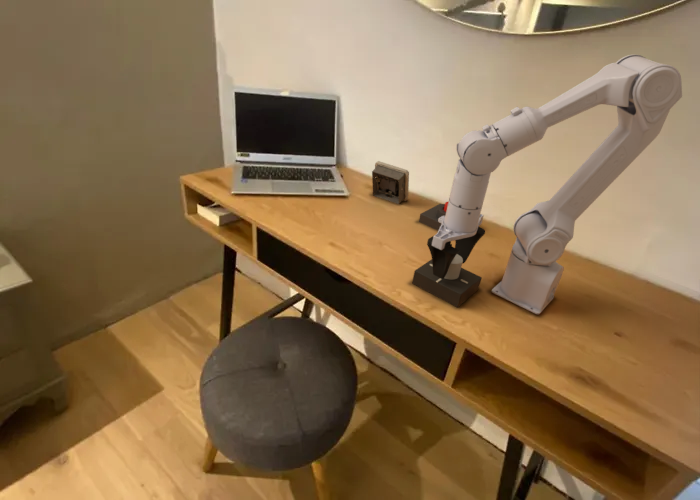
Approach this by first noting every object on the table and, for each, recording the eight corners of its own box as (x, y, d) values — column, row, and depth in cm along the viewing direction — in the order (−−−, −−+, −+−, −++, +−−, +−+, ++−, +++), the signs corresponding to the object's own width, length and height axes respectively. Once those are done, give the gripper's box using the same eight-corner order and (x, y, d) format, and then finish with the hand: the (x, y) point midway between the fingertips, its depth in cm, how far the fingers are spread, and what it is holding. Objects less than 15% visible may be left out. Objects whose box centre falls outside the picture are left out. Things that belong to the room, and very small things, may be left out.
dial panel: (478, 289, 90) (482, 276, 89) (457, 308, 85) (460, 293, 83) (434, 267, 96) (437, 254, 94) (411, 283, 90) (414, 269, 89)
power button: (461, 211, 111) (463, 205, 110) (454, 216, 109) (455, 209, 108) (448, 206, 113) (450, 199, 112) (440, 210, 111) (442, 204, 110)
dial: (444, 265, 91) (448, 248, 89) (462, 274, 89) (467, 257, 87) (433, 273, 88) (437, 255, 86) (452, 282, 86) (456, 265, 84)
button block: (477, 227, 113) (481, 212, 111) (458, 239, 107) (462, 224, 105) (438, 211, 119) (441, 196, 117) (418, 221, 113) (421, 206, 110)
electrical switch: (408, 200, 122) (412, 168, 117) (398, 209, 119) (402, 175, 113) (377, 190, 126) (379, 158, 121) (367, 198, 123) (369, 165, 117)
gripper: (465, 184, 88) (450, 246, 95) (423, 205, 78) (409, 273, 85) (500, 197, 84) (482, 261, 91) (460, 221, 75) (443, 290, 82)
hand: (449, 268), depth 88 cm, fingers open, 7 cm apart
